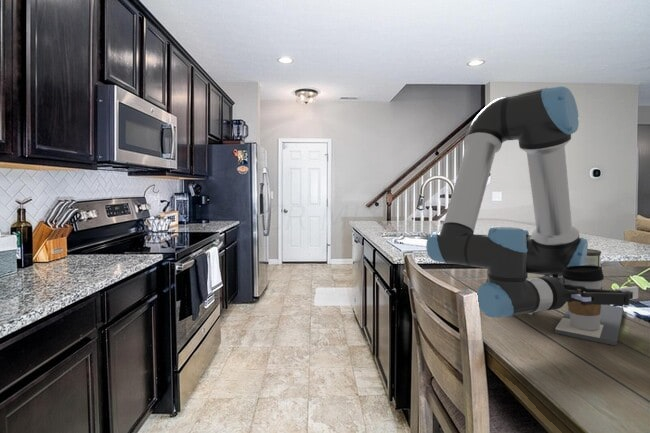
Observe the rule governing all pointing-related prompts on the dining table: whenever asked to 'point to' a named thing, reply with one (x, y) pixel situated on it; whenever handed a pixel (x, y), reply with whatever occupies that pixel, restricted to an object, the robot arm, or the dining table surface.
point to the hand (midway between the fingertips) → (605, 285)
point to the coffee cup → (580, 276)
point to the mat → (604, 334)
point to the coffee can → (593, 257)
